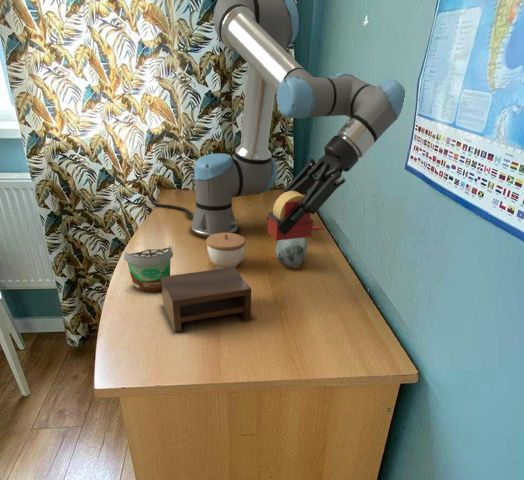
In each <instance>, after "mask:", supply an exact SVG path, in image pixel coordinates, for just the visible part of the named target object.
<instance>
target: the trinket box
mask: <svg viewBox="0 0 524 480" xmlns="http://www.w3.org/2000/svg"><path fill="white" fill-rule="evenodd" d="M245 245H246V238H245V237H244V236H242V235H241V234H238V233H236V234H234V233H217V234H213V235H210V236H209V237H208V238H206V250H207V256H208V258H209V260H210V262H211V263H212V264H213V265H214V266H215V267H216V269H224V268H231V267H234V268H235V269H236V268H237V266H239V264H240V263H241V262H242V260H243V258H244V255H245V251H246V250H245V249H246V248H245V247H246V246H245Z"/></svg>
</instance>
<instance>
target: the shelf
mask: <svg viewBox="0 0 524 480" xmlns="http://www.w3.org/2000/svg"><path fill="white" fill-rule="evenodd" d="M161 288H162V291H161V297H162V307H163V309H164V312H165V314H166V316H167V318H168V319H169V322H170V324H171V327H172V329H173V331H174V333H179V332H182V331H183V330H182V323H185V322H191V321H197V320H203V319H208V318H210V319H211V318H216V317H222V316H227V315H232V314H240V316H241V317H242V319H243V320H244V321H247V320H252V319H251V317H252V287H251V286H250V285H249V284H248V283H247V281H246V280H245V279H244V278H243V276H242V275H241V274H240V273H239V271H238V270H237V269H236V267H235V268H234V267H231V268H224V269H219V268H216V269H210V270H209V269H208V270H202V271H195V272H187V273H180V274H173V275H171V274H170V276H164V277H161Z"/></svg>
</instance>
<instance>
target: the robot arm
mask: <svg viewBox="0 0 524 480" xmlns="http://www.w3.org/2000/svg"><path fill="white" fill-rule="evenodd" d="M212 16H213V17H212V18H213V20H212V21H213V27H214V30H215V33H216V35H217V37H218V39H219V40H220V42H221V43H222V44H223V45H224V46H225V48H227V49H228V50H230V51H232V52H237V53H238V55H239V56H240V57H242V59H244V61H245V62H246V63H247V71H246V80H245V93H244V102H243V113H242V125H241V135H240V136H241V137H240V144H239V145H238V146H237V147H235V151H234V157H233V158H232V156H231V155H230V154H229V153H221V152H220V153H211V154H205V155H203V156H200V157H199V158H198V159H196V161H195V162H194V171H193V178H194V194H195V210H194V212H193V213H194V214H193V215H191V212H190V210H189V209H187V207H183V206H178V205H172V204H165V203H157V202H155V201H154V196H153V195H151V196H150V198H149V199H150V203H151V205H153V206H156V207H161V208H171V209H176V210H181V211H184V212H186V216H187V218H189V219H191V224H190V227H191V233H192V234H193V235H195V236H196V237H199V238H203V239H207V238H208V237H209V236H210V235H213V234H217V233H234V234H238V233H237V232H238V219H236V216H235V214H234V213H235V212H234V210H233V198H238V197H245V196H252V195H261V194H262V193H266V192H268V191H270V190H272V188H273V186H274V185H275V182H276V179H277V167H276V166H277V164H276V161H275V159H274V158H273V157H272V156H273V155H272V152H271V150H270V149H269V140H270V132H271V125H272V117H273V111H274V110H273V109H274V102H275V94H276V105H277V106H278V107H279V109H278V110H279V112H280V114H281V115H282V116H284V117H285V118H289V119H298V120H300V119H305V118H318V117H319V118H320V117H338V116H339V117H341V116H345V117H348V118H349V119H347V120H346V121H345V124H344V125H343V126H341V128H340V129H339V130H338V131H337V135H333V136H332V138H331V139H330V140H329V141H328V142H327V143H326V144H325V145H324V148H323V150H324V155H323V156H322V157H320V158H318V160H315V159H314V158H310V159H309V160H307V163H306V164H305V165H304V167H302V169H301V170H300V172H299V173H298V174H296V176H295V177H294V178H293V179H292V180H291V181H290V183H289V184H287V186H286V187H285V188H284V189H283V193H285V192H288V191H296V192H299V193H300V194H302V195H303V196H305V198H304V199H303V201H302V202H298V205H299V206H300V207H299V206H298V205H296V206H295V207H294V208H293V209H292V210H291V211H290V213H289V214H288V215H287V216H286V217H285V218H284V219H283V220H282V221H281V223H280V224H279V225H278V226H277V228H278V229H279V230H280V231H281V232H282V233H283V234H284V235H286V234H287V233H288V232H289V231H290V230H291V228H292V227H293V226H294V225H295V224H296V223H298V221H299V220H300V219H301V218H302V217H303V216H304V215H305V214H308V213H311V214H313V215H314V214H316V213H317V211H319V209H320V208H321V207H322V206H323V205H324V204H325V202H327V200H329V198H331V196H332V195H333V194H334V193H335V191H336V190H337V189H338V188H340V187H341V186H342V185H343V184H345V182H346V179H345V178H344V176H343V175H342V174H343V172H345V173H348V172H349V171H351V169H352V168H354V166H355V165H356V164H357V163H358V162H359V158H362V157H363V156H365V154H366V153H368V151H369V150H370V149H371V148H372V146H374V145H375V143H376V142H377V141H378V140H379V138H380V137H382V135H383V134H385V132H386V131H387V130H388V129H389V128H390V127H391V126H392V125H393V124H394V123H395V122H396V121H398V119H399V117H400V116H401V115H400V113H401V110H402V107H403V102H404V97H405V90H406V88H405V87H404V86H403V85H402V84H401V83H400V81H398V80H396V79H395V78H392V77H389V78H385V79H383V81H381V82H380V83H379V84H378V86H375V85H372V84H370V83H368V82H366V81H364V80H362V79H360V78H358V77H357V76H354V75H353V74H351V73H345V72H336V73H335V74H333V75H332V76H331V77H315V76H312V74H310V73H309V72H308V71H307V70H306V69H305V68H304V67H303V66H302V65H301V64H299V63H298V61H297V60H296V59H295V58H294V57H293V56H291V54H290V53H288V52H287V47H288V46H290V45H292V44H293V43H294V41H295V40H296V38H297V36H298V31H299V12H298V8H297V6H296V2H295V1H294V0H217V2H216V4H215V6H214V10H213V15H212ZM404 88H405V89H404ZM401 114H402V113H401ZM399 115H400V116H399ZM306 192H307V194H306V195H304V194H305V193H306ZM271 213H272V214H273V210H272V211H271ZM266 220H267V221H268V216H266Z"/></svg>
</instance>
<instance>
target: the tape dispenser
mask: <svg viewBox="0 0 524 480" xmlns="http://www.w3.org/2000/svg"><path fill="white" fill-rule="evenodd" d="M305 196H306V195H304V194H303V195H302V194H300V193H299V192H296V191H288V192H285V193H284V192H283V193H282V194H281V195H276V199H275V202H274V204H273V208H272V211H273V214H272V213H271V212H272V211H271V212H268V216H267V217H268V220H267V234H268V235H270V236H271V237H272V238H273V239H274V240H275V241H277V242H278V240H286V239H294V238H303V237H304V238H308V237H310V238H311V237H312V234H313V230H312V227H313V226H314V225H313V224H314V219H313V217H314V214H311V213H308V214H305V215H304V216H303V217H302V218H301V219H300V220H299V221H298V223H296V224H295V225H294V226H293V227H292V228H291V230H290V231H289V232H288V233H287V234H286V235H284V234H283V233H282V232H281V231H280V230H279V229H278V228H277V226H278V225H279V224H280V223H281V221H282V220H283V219H284V218H285V217H286V216H287V215H288V214H289V213H290V211H291V210H292V209H293V208H294V207H295V206H296V205H298V202H302V201H303V199H304V198H305ZM298 206H299V205H298ZM299 207H300V206H299Z"/></svg>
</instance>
